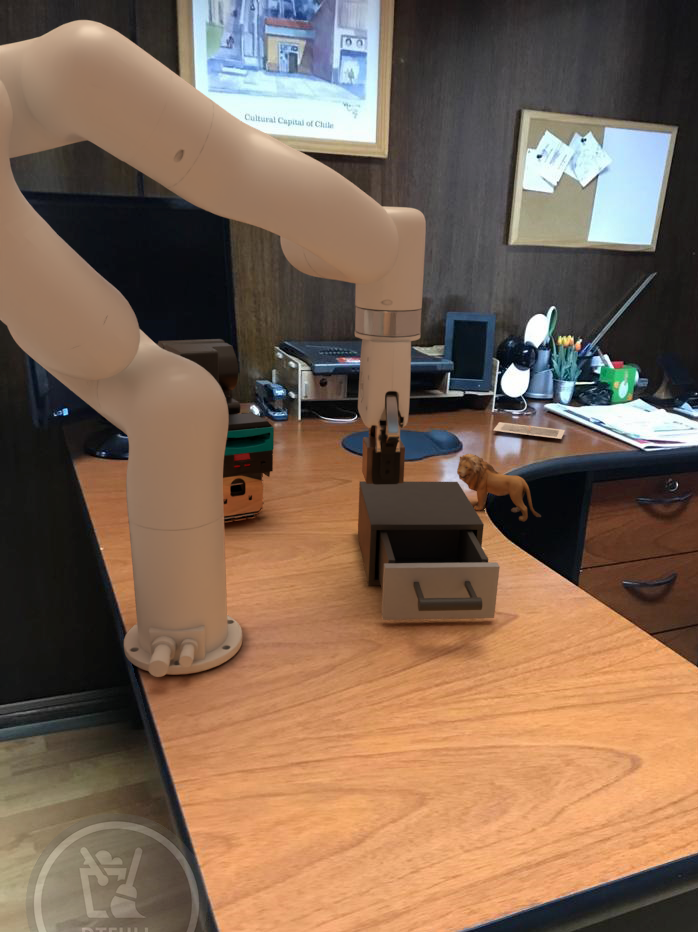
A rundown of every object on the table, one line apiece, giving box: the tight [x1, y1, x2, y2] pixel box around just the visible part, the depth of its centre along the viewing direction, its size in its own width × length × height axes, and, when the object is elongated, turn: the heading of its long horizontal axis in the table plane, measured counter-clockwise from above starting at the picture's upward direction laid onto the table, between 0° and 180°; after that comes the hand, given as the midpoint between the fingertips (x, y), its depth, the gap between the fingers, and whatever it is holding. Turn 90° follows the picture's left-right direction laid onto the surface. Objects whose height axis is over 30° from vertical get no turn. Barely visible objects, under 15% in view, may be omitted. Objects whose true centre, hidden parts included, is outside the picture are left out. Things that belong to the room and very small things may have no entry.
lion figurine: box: [456, 453, 542, 522], centre depth 126 cm, size 15×5×9 cm, turn 66°
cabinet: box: [357, 480, 485, 586], centre depth 107 cm, size 17×15×9 cm
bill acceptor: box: [156, 338, 275, 523], centre depth 120 cm, size 10×23×25 cm, turn 33°
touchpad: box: [493, 421, 566, 440], centre depth 173 cm, size 8×15×2 cm, turn 72°
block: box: [361, 436, 406, 484], centre depth 93 cm, size 4×4×4 cm
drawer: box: [375, 530, 501, 621], centre depth 94 cm, size 21×13×7 cm, turn 7°
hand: (382, 474), depth 94 cm, fingers closed on block, 4 cm apart
